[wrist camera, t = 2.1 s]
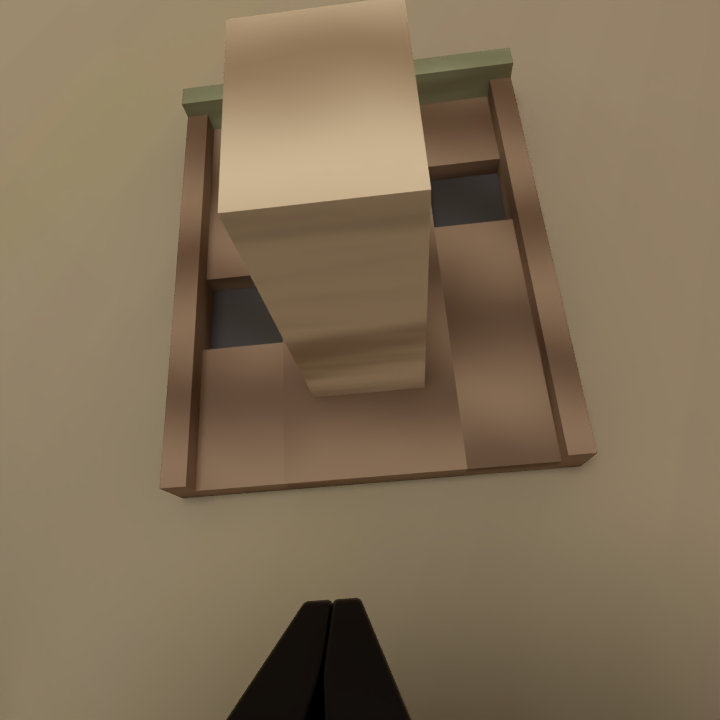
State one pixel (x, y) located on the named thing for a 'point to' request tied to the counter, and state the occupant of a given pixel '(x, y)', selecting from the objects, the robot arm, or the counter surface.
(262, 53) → the beech block
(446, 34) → the counter surface
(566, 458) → the trap lane
